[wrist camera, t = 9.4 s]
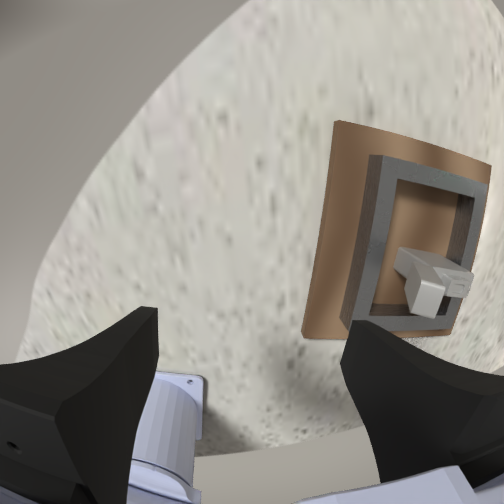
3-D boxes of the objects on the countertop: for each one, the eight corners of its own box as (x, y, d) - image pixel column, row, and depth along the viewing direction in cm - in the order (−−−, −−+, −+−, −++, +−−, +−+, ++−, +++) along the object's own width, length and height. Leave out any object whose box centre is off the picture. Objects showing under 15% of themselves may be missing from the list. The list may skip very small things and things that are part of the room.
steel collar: (338, 317, 22) (348, 331, 20) (369, 154, 19) (383, 154, 17) (438, 317, 23) (451, 328, 21) (471, 181, 20) (487, 184, 18)
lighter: (440, 254, 21) (510, 295, 14) (434, 275, 22) (500, 322, 14) (363, 239, 20) (428, 285, 13) (356, 264, 21) (416, 319, 13)
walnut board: (301, 331, 23) (303, 338, 22) (334, 121, 19) (339, 120, 18) (444, 329, 25) (450, 334, 24) (483, 164, 20) (491, 165, 20)
